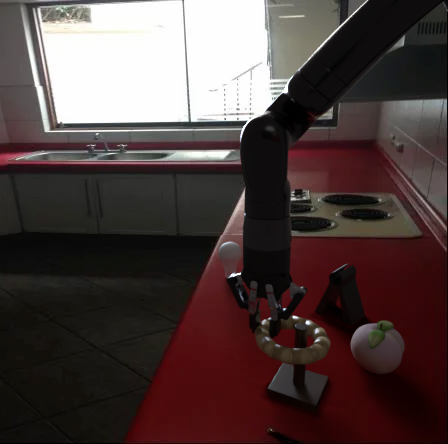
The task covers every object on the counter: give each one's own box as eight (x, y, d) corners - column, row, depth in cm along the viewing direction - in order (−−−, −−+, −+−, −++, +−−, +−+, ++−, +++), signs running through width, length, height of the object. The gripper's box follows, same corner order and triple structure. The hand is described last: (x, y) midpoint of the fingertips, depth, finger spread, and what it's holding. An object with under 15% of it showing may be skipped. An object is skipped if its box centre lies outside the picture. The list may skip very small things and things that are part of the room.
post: (328, 383, 73) (333, 321, 69) (315, 413, 66) (320, 346, 63) (282, 369, 77) (285, 309, 73) (267, 395, 71) (269, 332, 67)
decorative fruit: (354, 350, 81) (359, 305, 78) (402, 364, 76) (409, 316, 73) (343, 378, 74) (347, 329, 71) (395, 395, 69) (402, 343, 66)
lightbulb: (217, 284, 111) (216, 246, 107) (220, 274, 116) (220, 237, 113) (240, 286, 109) (240, 247, 106) (243, 276, 115) (243, 239, 111)
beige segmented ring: (336, 336, 71) (337, 324, 71) (318, 377, 62) (320, 364, 61) (269, 317, 78) (269, 306, 77) (244, 352, 69) (244, 340, 68)
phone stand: (313, 315, 94) (316, 266, 90) (327, 305, 97) (330, 258, 94) (352, 331, 87) (357, 279, 83) (366, 320, 91) (371, 270, 87)
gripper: (216, 241, 68) (218, 333, 73) (303, 256, 60) (298, 357, 66) (236, 227, 74) (236, 313, 79) (317, 239, 66) (311, 333, 71)
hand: (264, 333), depth 72 cm, fingers closed on beige segmented ring, 2 cm apart
